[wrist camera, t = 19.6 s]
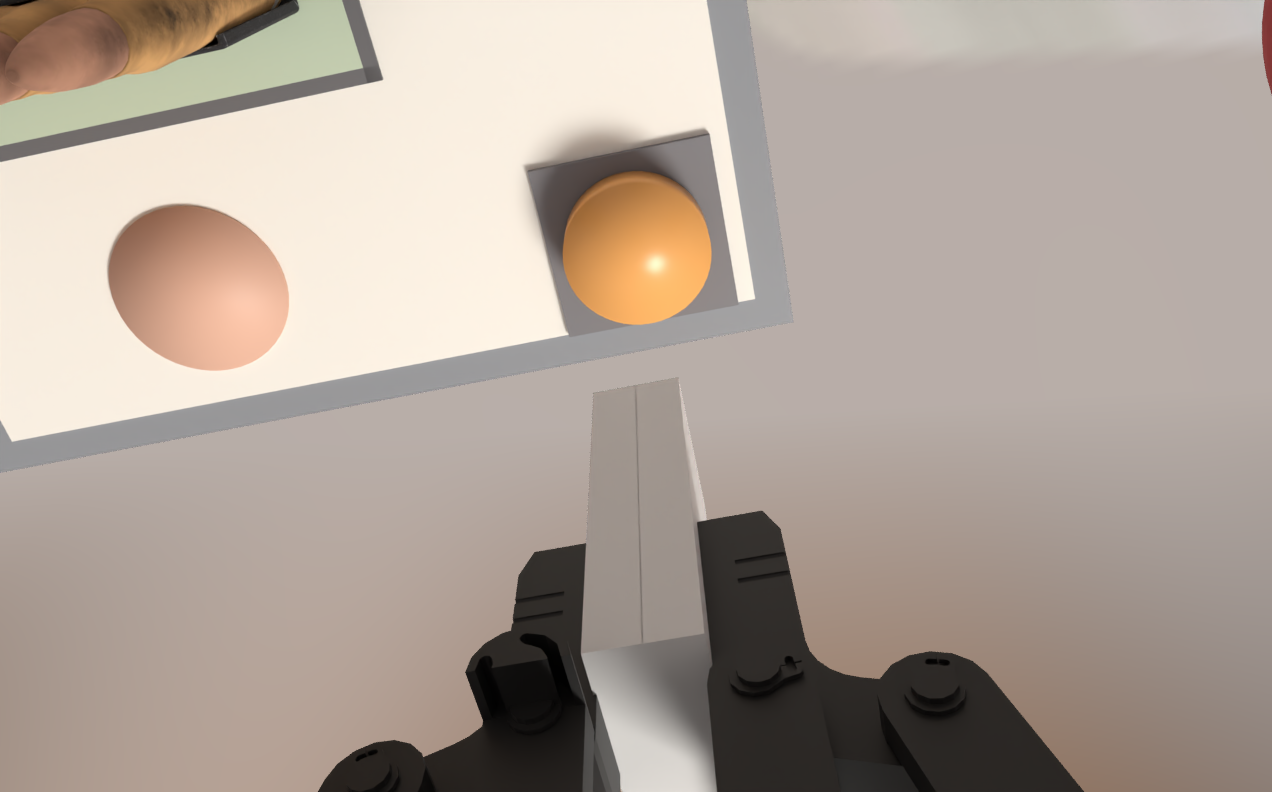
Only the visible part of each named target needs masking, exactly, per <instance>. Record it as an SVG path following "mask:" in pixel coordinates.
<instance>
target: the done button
mask: <svg viewBox="0 0 1272 792" xmlns="http://www.w3.org/2000/svg"><path fill="white" fill-rule="evenodd" d="M711 253H712V251H711V242H710V237H709V233H708V229H707V225H706V221H705V217H704V215H703V212H702V210H701V208H700V207H699V205H698V203H697V202H696V200H695V199H694V198H693V196H692V195H691V194H690V193H689V192H688V191H687V190H686V189H685V188H684V187H682V186H681V185H680V184H678V183H677V182H675V181H673V180H671V179H670V178H667V177H665V176H662V175H660V174H656V173H652V172H645V171H628V172H621V173H618V174H614V175H611V176H609V177H606V178H604V179H602V180H600V181H599V182H597V183H595V184H594V185H593V186H591V187H590V188H589V189H587V191H586V192H585V193H584V194H583V195H582V196H581V197H580V198H579V199H578V201H577V202H576V203H575V205H574V207H573V209H572V211H571V213H570V215H569V218H568V221H567V225H566V229H565V236H564V244H563V265H564V270H565V274H566V277H567V280H568V282H569V284H570V286H571V288H572V289H573V291H574V293H575V294H576V296H577V297H578V298H579V299H580V300H581V301H582V303H584V304H585V305H586V306H587V307H588V308H589V309H591V310H592V311H594V312H595V313H596V314H598V315H600V316H602V317H604V318H606V319H609V320H612V321H614V322H619V323H623V324H631V325H643V324H650V323H655V322H659V321H662V320H665V319H667V318H670V317H671V316H673V315H675V314H677V313H679V312H680V311H681V310H683V309H684V308H686V307H687V306H688V305H689V304H690V303H691V302H692V301H693V300H694V299H695V297H696V296H697V295H698V294H699V292H700V291H701V289H702V288H703V286H704V284H705V281H706V279H707V277H708V273H709V270H710V265H711Z"/></svg>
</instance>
